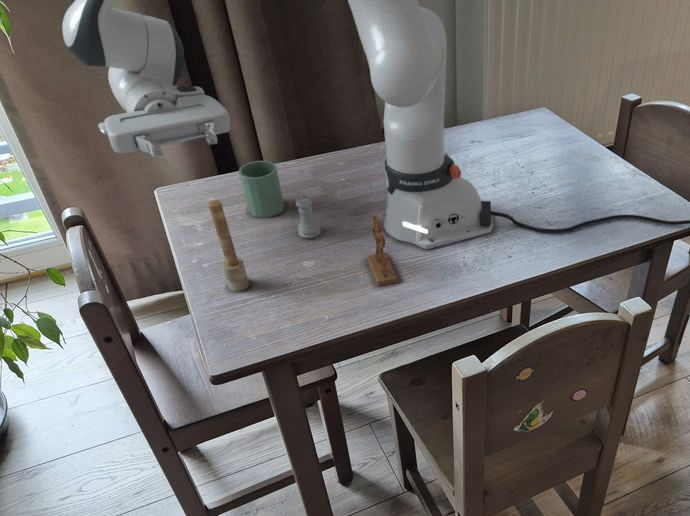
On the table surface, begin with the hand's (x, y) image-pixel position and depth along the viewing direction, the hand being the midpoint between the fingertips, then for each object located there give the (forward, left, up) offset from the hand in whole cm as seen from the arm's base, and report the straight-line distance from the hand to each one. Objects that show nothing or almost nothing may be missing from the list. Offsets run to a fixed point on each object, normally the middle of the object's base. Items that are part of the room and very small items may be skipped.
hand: (185, 146), depth 107 cm
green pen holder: (-10, -15, -22) cm, 28 cm away
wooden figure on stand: (-30, +13, -22) cm, 39 cm away
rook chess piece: (-18, -3, -22) cm, 29 cm away
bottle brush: (-4, +11, -22) cm, 25 cm away
